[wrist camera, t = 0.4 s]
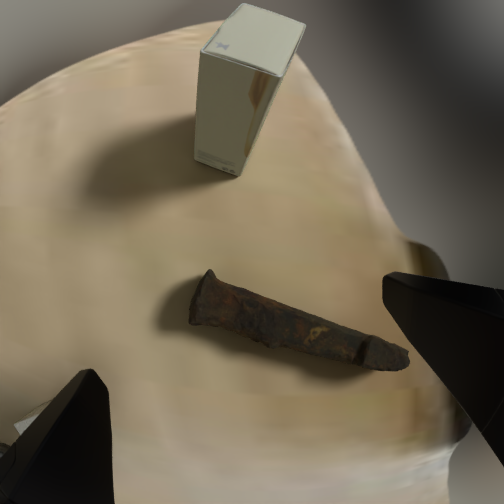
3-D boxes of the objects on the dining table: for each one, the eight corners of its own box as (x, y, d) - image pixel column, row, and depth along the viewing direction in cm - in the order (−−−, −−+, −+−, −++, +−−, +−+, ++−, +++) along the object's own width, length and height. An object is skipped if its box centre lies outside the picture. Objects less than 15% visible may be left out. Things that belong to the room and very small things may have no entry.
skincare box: (240, 178, 23) (281, 83, 12) (192, 161, 23) (194, 54, 11) (264, 121, 25) (310, 22, 13) (220, 105, 24) (242, -1, 12)
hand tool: (184, 317, 21) (181, 324, 17) (204, 269, 22) (206, 264, 18) (378, 383, 24) (408, 396, 19) (393, 345, 24) (425, 351, 20)
